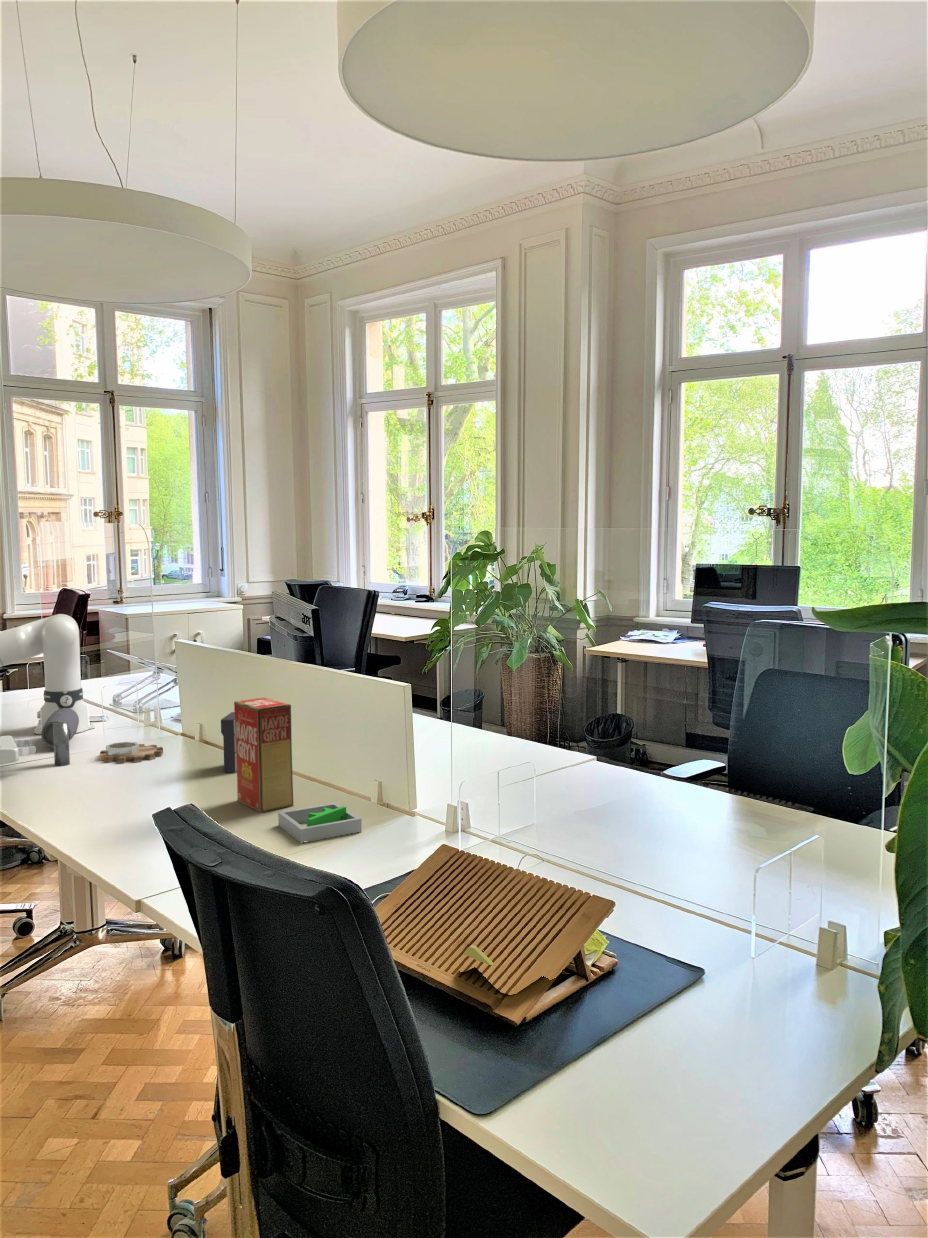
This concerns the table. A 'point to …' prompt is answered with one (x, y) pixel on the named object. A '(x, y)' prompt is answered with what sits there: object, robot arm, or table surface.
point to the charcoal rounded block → (229, 743)
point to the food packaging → (264, 754)
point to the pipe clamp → (326, 816)
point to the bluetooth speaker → (60, 716)
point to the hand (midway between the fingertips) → (33, 745)
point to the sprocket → (129, 752)
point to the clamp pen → (316, 832)
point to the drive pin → (61, 743)
